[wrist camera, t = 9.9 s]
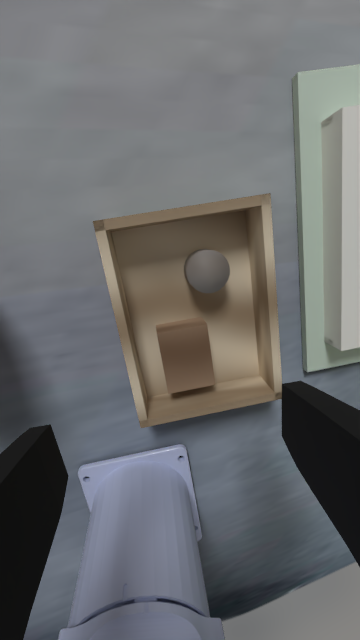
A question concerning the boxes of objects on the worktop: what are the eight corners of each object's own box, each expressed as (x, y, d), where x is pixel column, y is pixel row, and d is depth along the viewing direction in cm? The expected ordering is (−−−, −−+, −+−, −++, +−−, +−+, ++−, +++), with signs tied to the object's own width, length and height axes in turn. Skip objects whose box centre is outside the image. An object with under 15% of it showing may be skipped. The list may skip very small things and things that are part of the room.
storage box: (263, 376, 21) (282, 398, 18) (141, 401, 20) (140, 428, 17) (249, 201, 17) (270, 193, 14) (102, 224, 17) (92, 221, 14)
